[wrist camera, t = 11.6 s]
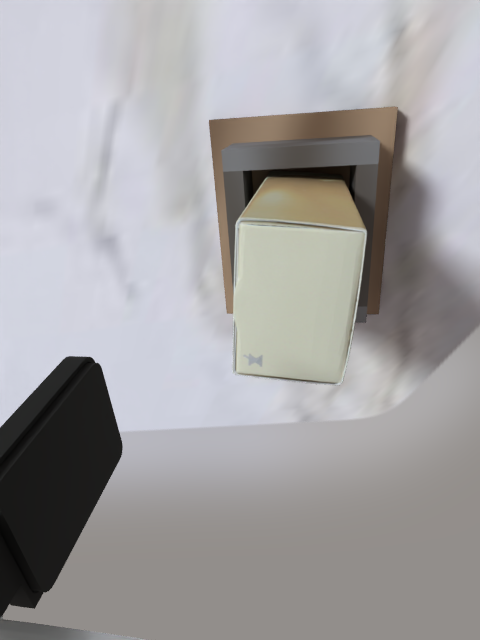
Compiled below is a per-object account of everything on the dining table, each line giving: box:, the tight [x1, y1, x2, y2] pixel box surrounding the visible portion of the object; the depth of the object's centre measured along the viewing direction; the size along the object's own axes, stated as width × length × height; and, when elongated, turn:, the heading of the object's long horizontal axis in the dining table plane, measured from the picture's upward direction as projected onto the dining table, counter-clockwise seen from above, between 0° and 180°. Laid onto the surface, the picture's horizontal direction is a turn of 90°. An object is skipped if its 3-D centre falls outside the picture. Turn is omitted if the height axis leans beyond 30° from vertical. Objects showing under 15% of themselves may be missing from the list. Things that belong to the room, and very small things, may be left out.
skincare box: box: [232, 171, 367, 385], centre depth 20 cm, size 6×4×12 cm
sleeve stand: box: [209, 107, 398, 322], centre depth 24 cm, size 10×12×4 cm
